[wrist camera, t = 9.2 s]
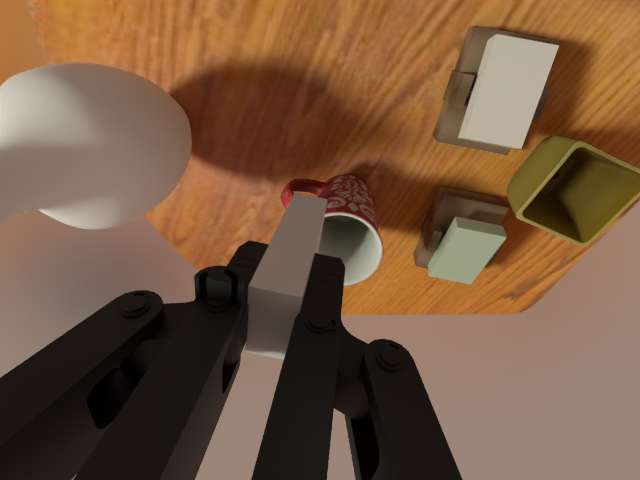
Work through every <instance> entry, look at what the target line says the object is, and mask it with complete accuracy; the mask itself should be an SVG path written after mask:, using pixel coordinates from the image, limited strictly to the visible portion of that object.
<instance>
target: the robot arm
mask: <svg viewBox="0 0 640 480" xmlns="http://www.w3.org/2000/svg"><path fill="white" fill-rule="evenodd" d="M327 201H328V199H324V198H319V197H313V196H308V195H303V194H298V193H294V195H293V197H292V199H291V201H290V203H289V205H288V207H287V209H286V211H285V213H284V215H283V217H282V220H281V222H280V224H279V226H278V228H277V230H276V232H275V234H274V236H273V238H272V240H271V242H270V244H264V243H259V242H254V241H248V242H246V243H244V244H243V245H241V246H239V248H238V249H237V251H236V252H235V254H234V256H233V257H232V259H231V260H230V262H229V264H228V265H227V266H212V267H207V268H205V269H203V270H200V271H199V272H198V273H197V274H196V275H195V276H194V279H195V295H196V299H195V300H194V301H192V302H187V303H171V304H163V301H162V299H161V297H160V296H159V295H158V294H156V293H155V292H151V291H147V290H143V291H133V292H129V293H125V294H123V295H121V296H119V297H117V298H116V299H114V300H113V301H111V302H110V303H108V304H107V305H105V306H104V307H103V308H101V309H100V310H98V311H97V312H95V313H94V314H93V315H91V316H90V317H88V318H86V319H85V320H84V321H82V322H81V323H79V324H78V325H76V326H75V327H74V328H72V329H71V330H69V331H68V332H66V333H65V334H63V335H62V336H60V337H59V338H57V339H56V340H55V341H53V342H52V343H50V344H49V345H47V346H46V347H45V348H43V349H41V350H40V351H39V352H37V353H36V354H34V355H33V356H31V357H30V358H28V359H27V360H26V361H24V362H23V363H21V364H20V365H18V366H17V367H15V368H14V369H12V370H11V371H10V372H8V373H7V374H5V375H4V376H2V377H1V378H0V480H71V479H72V478H73V477H74V476H75V475H76V474H77V473H78V474H77V475H76V477H75V478H74V480H195V478H196V475H197V473H198V470H199V467H200V465H201V462H202V460H203V458H204V455H205V452H206V450H207V447H208V445H209V442H210V440H211V437H212V435H213V432H214V430H215V427H216V425H217V422H218V420H219V417H220V415H221V412H222V410H223V407H224V404H225V402H226V399H227V397H228V394H229V392H230V389H231V387H232V384H233V382H234V379H235V377H236V374H237V372H238V369H239V366H240V358H241V352H242V350H243V347H244V345H245V342H246V345H245V352H249V353H254V354H259V355H264V356H268V357H273V358H277V359H282V360H284V361H283V365H282V369H281V373H280V376H279V380H278V383H277V387H276V391H275V394H274V398H273V402H272V406H271V409H270V413H269V416H268V420H267V424H266V428H265V431H264V435H263V439H262V442H261V446H260V450H259V453H258V457H257V461H256V464H255V468H254V472H253V476H252V480H327V470H328V460H329V450H330V439H331V430H332V420H333V409H334V408H335V409H336V410H338V411H340V412H342V413H343V414H345V420H346V426H347V431H348V438H349V443H350V449H351V454H352V461H353V467H354V472H355V478H356V480H462V478H461V475H460V473H459V470H458V468H457V466H456V463H455V460H454V458H453V456H452V453H451V451H450V448H449V446H448V444H447V441H446V438H445V436H444V433H443V431H442V429H441V426H440V424H439V421H438V419H437V416H436V414H435V412H434V409H433V407H432V404H431V402H430V399H429V397H428V394H427V392H426V389H425V387H424V384H423V382H422V379H421V377H420V374H419V372H418V370H417V367H416V365H415V362H414V360H413V358H412V357H411V355H410V353H409V352H408V351H407V350H406V349H405V348H404V347H403V346H402V345H400V344H398V343H396V342H394V341H392V340H386V339H378V340H374V341H372V342H371V343H369V344H367V343H365V342H363V341H361V340H359V339H357V338H356V337H354V336H353V335H351V334H350V333H349V332H348V331H347V330H346V329H345V327H344V326H343V324H342V321H341V307H342V297H343V287H344V277H345V268H346V267H345V265H344V263H343V261H342V259H341V258H337V257H332V256H328V255H323V254H318V250H319V244H320V239H321V233H322V228H323V222H324V217H325V212H326V206H327Z"/></svg>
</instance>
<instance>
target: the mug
mask: <svg viewBox="0 0 640 480" xmlns="http://www.w3.org/2000/svg"><path fill="white" fill-rule="evenodd" d="M293 191H302V192H310V193H314V194H316V195H317V197H319V198H324V199H328V201H327V206H326V212H325V217H324V222H323V228H322V233H321V239H320V244H319V250H318V254H323V255H328V256H332V257H337V258H341V259H342V261H343V263H344V265H345V267H346V268H345V277H344V286H346V285H352V284H356V283H359V282H361V281H363V280H365V279H367V278H368V277H370V276H371V275H372V274H373V273H374V272H375V271H376V269H377V268H378V267H379V265H380V263H381V260H382V256H383V243H382V240H381V237H380V235H379V233H378V227H377V223H376V217H375V212H374V207H373V201H372V195H371V192H370V189H369V188H368V186H367V185H366V184H365V183H364V181H362V180H361V179H359V178H357V177H355V176H351V175H338V176H335V177H333V178H331V179H329V180H328V181H327V182H326V183H324V182H320V181H316V180H310V179H294V180H292V181H290V182H289V183H288V184H287V185H286V187H285V188H284V190H283V191H282V194H281V202H282V204H283V206H284V207H285V208H286V209H287V207H288V205H289V203H290V201H291V199H292V197H293V195H294V193H293Z"/></svg>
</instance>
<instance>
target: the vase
mask: <svg viewBox="0 0 640 480" xmlns="http://www.w3.org/2000/svg"><path fill="white" fill-rule="evenodd" d="M191 149H192V136H191V128H190V123H189V120H188V117H187V115H186V113H185V111H184V110H183V109H182V107H181V106H180V105H179V104H178V103H177V102H176V101H175V100H174V99H173V98H172V97H171V96H170V95H169V94H168V93H167V92H166V91H164V90H163V89H162V88H161V87H159V86H158V85H156V84H154V83H153V82H151V81H150V80H148V79H146V78H144V77H141V76H139V75H136V74H134V73H131V72H128V71H125V70H121V69H118V68H114V67H110V66H105V65H100V64H94V63H80V62H74V63H62V64H55V65H48V66H43V67H38V68H34V69H31V70H28V71H25V72H22V73H19V74H16V75H14V76H12V77H11V78H9V79H8V80H7V81H5V82H4V84H2V85H1V87H0V226H1V225H2V224H4V223H5V222H7V221H8V220H10V219H12V218H14V217H16V216H17V215H20V214H22V213H25V212H28V211H33V210H39V211H41V212H42V213H44V214H46V215H48V216H50V217H52V218H54V219H56V220H58V221H60V222H62V223H65V224H67V225H70V226H74V227H78V228H83V229H101V228H102V229H103V228H111V227H115V226H119V225H122V224H124V223H127V222H130V221H132V220H134V219H136V218H138V217H140V216H142V215H144V214H145V213H147V212H149V211H150V210H152V209H153V208H155V207H156V206H157V205H159V204H160V203H161V202H163V201H164V200H165V199H166V198H167V197H168V196H169V195H170V193H171V192H172V191H173V190H174V189H175V187H176V186H177V184H178V182H179V181H180V179H181V178H182V176H183V174H184V172H185V170H186V168H187V165H188V163H189V160H190V156H191Z"/></svg>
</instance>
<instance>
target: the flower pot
mask: <svg viewBox="0 0 640 480" xmlns="http://www.w3.org/2000/svg"><path fill="white" fill-rule="evenodd" d="M555 173H557V174H558V175H557V177H553V175H554V174H555ZM639 197H640V169H639V168H637V167H635V166H632V165H630V164H628V163H626V162H624V161H621V160H619V159H617V158H615V157H613V156H611V155H609V154H607V153H605V152H603V151H601V150H599V149H597V148H595V147H593V146H591V145H589V144H587V143H586V142H583V141H580V140H576V139H571V138H567V137H563V136H550V137H548V138H546V139H544V140H543V141H542V142H540V143H539V145H537V147H536V148H535V149H534V151H533V152H532V153H531V155H530V156H529V157H528V158H527V160H526V161H525V162H524V164H523V165H522V166H521V167H520V169H519V170H518V171H517V173H516V174H515V175H514V177H513V178H512V180H511V181H510V183H509V185H508V188H507V198H508V201H509V203H510V205H511V207H512V209H513V211H514V213H515V215H516V217H517V218H518V219H520V220H522V221H524V222H526V223H529V224H531V225H533V226H536V227H538V228H540V229H543V230H545V231H547V232H549V233H551V234H554V235H556V236H558V237H561V238H563V239H565V240H567V241H569V242H571V243H574V244H576V245H578V246H582V247H587V246H588V245H589V244H591V243H592V242H593V241H594V240H595V239H596V238H597V237H598V236H599V235H600V234H601V233H602V232H603V231H604V230H605V229H606V228H607V227H608V226H609V225H610V224H611V223H612V222H613V221H615V220H616V219H617V218H618V217H619V216H620V215H621V214H622V213H623V212H624V211H625V210H626V209H627V208H628V207H629V206H630V205H631V204H632V203H633V202H635V201H636V200H637V199H638V198H639Z"/></svg>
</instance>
